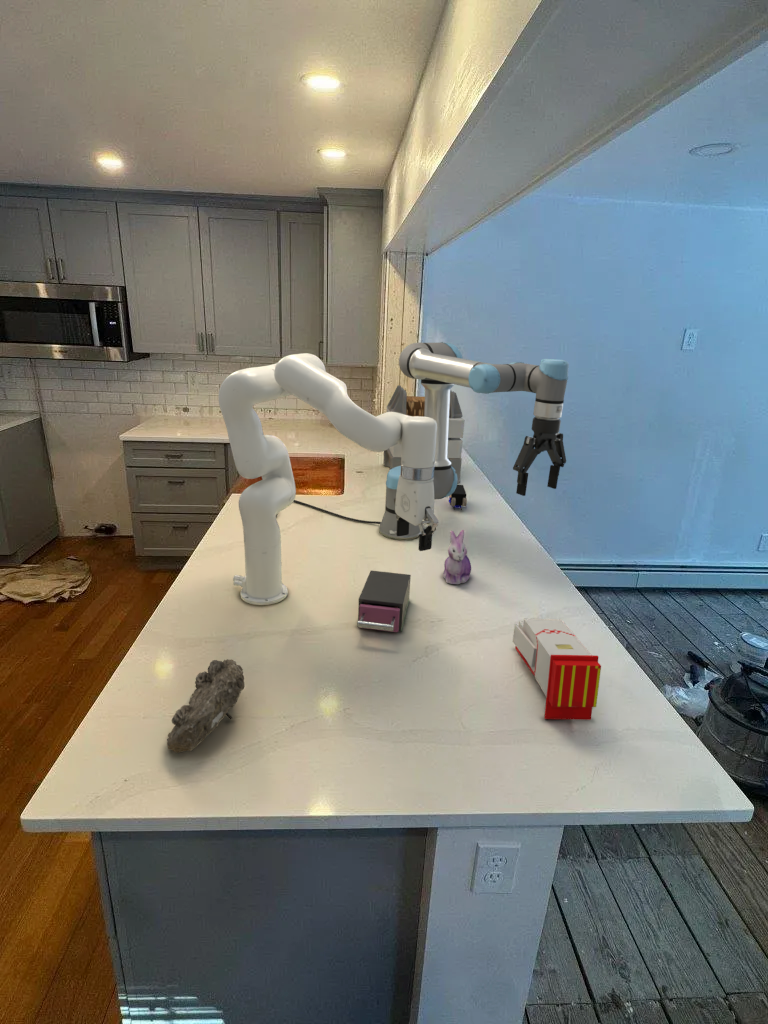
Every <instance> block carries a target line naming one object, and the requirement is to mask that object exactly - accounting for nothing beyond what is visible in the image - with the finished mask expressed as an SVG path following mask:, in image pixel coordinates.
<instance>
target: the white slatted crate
mask: <svg viewBox="0 0 768 1024" xmlns="http://www.w3.org/2000/svg"><path fill="white" fill-rule="evenodd" d="M407 394H408V393H407V390H406V389H404V388H403V387H402V385H399V384H398V385H397V386H396V388H395V390H394V392H393V394H392V395H391V398H390V400H389V402H388V404H387V405H386V412H397V413H401V414H404V415H408V416H423V417H424V410H425V396H415V395H414V396H413V395H412V396H411V395H407ZM464 429H465V419H464V418H463V411H462V408H461V405H460V402H459V398H458V395H457V392H455V391H453V390H452V389H450V407H449V430H448V453H447V458H448V459H449V461H450V462H451V466H452V467H453V468H454V469H455V471H456V472H455V473H456V474H457V479H458V481H457V484H459V483H461V472H462V461H463V460H462V453H463V442H464V441H463V440H462V439H463V438H464V431H465V430H464ZM401 454H402V444H398V445H395V446H392V447H390V448H389V449H387V450H385V451H383V466H384V467H388V468H389V471H390V470H391V469H392V468H394V467H397V466H401Z"/></svg>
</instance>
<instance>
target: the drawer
mask: <svg viewBox="0 0 768 1024" xmlns="http://www.w3.org/2000/svg"><path fill="white" fill-rule="evenodd" d="M358 608H359V607H358ZM399 616H400V609H399V606H390V605H381V604H373V603H365V604H360V608H359V620H358V619H357V625H356V626H357V628H361V629H367V630H375V631H383V632H384V631H385V632H393V633H399V632H398V630H399Z"/></svg>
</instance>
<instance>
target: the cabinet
mask: <svg viewBox="0 0 768 1024" xmlns="http://www.w3.org/2000/svg"><path fill="white" fill-rule="evenodd" d="M411 577H412V574H407V573H398V572H388V571H381V570H380V571H379V570H369V574H368V576H367V578H366V581H365V583H364V585H363V588H362V590H361V593H360V594H359V597H358V610H357V611H358V612H357V613H358V614H357V621H358V620H359V608H360V604H365V603H373V604H381V605H390V606H399V609H400V616H399V630H398V632H397V633H402V631H403V627H404V624H405V623H404V622H405V618H406V614H407V611H408V607H409V602H410V593H411Z"/></svg>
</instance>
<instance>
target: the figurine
mask: <svg viewBox="0 0 768 1024" xmlns="http://www.w3.org/2000/svg"><path fill="white" fill-rule="evenodd" d="M455 533H456V532H454V531H453V530H450V531H449V541H450V544H449V545H448V548H447V554H448V556H447V557H446V558H445V560H444V564H443V565H444V569H443V575H442V576H443V579H444V580H445V582H446V583H447V584H450V585H451V584H452V585H460V584H464V583H466V582H468V580H469V579H470V576H471V573H472V563H471V560H470V558H469V557H468V555H467V553H468V550H467V547H466V545H465V542H464V539H465V535H466V534H465V533H466V532H465V530H464V529H462V530H460V531H459V534H458V535H456V534H455Z"/></svg>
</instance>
